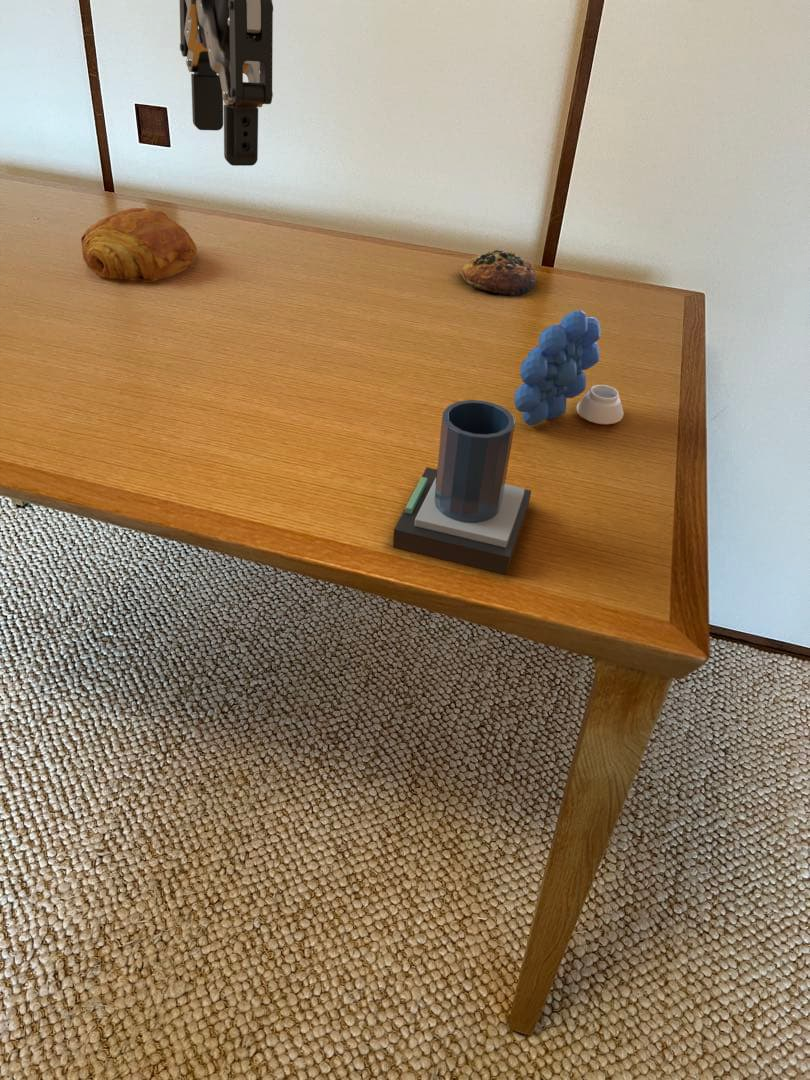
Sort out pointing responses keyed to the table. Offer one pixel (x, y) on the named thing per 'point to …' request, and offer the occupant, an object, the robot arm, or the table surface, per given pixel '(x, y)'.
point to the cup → (473, 460)
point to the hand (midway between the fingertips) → (223, 145)
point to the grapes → (557, 367)
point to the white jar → (601, 405)
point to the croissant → (137, 246)
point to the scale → (461, 529)
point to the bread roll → (500, 273)
